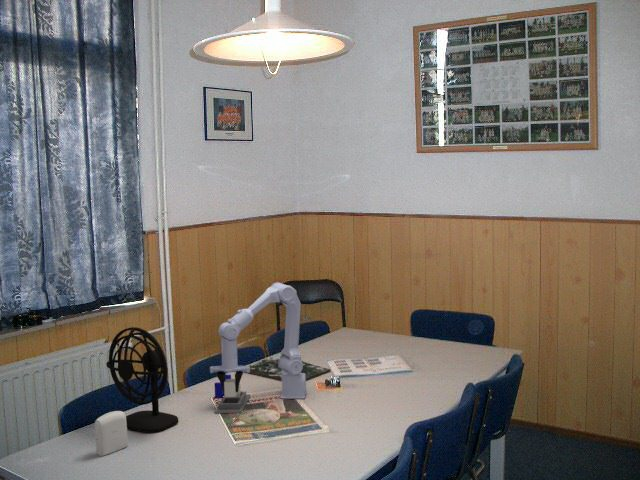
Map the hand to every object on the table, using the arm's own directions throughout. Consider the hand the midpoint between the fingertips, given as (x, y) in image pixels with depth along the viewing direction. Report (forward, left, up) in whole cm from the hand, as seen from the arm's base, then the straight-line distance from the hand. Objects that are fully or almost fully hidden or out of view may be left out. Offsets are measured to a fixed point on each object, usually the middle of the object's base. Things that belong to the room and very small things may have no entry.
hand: (230, 391), depth 267 cm
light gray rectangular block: (0, 0, -1) cm, 1 cm away
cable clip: (+7, -17, -7) cm, 19 cm away
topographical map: (-16, -47, -7) cm, 50 cm away
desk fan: (+27, +17, -6) cm, 33 cm away
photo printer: (+31, +40, -6) cm, 51 cm away
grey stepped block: (0, -3, -6) cm, 7 cm away
